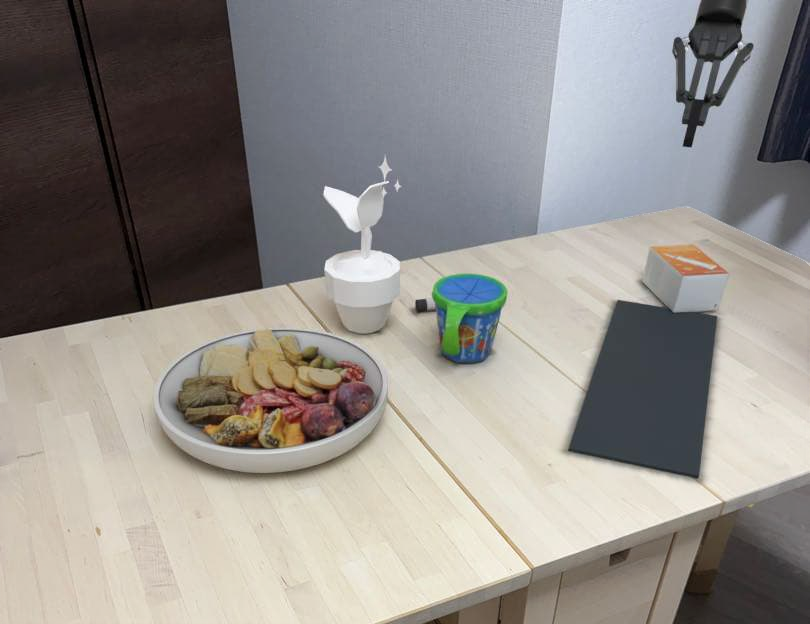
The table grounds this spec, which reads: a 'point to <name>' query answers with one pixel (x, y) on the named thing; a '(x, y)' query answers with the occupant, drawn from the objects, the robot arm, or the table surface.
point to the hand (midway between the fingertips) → (688, 142)
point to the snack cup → (468, 315)
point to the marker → (425, 304)
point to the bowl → (271, 399)
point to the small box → (684, 278)
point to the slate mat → (649, 390)
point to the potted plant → (362, 262)
